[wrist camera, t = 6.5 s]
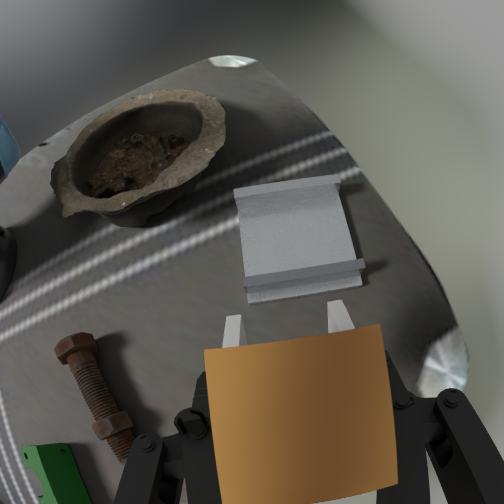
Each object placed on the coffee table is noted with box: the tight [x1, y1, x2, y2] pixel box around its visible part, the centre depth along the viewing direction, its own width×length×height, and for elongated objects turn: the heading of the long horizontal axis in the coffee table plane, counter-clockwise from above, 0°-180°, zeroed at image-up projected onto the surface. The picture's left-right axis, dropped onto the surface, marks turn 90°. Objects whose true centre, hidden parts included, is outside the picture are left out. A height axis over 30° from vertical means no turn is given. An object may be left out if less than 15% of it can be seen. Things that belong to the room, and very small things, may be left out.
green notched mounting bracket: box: [21, 443, 92, 504], centre depth 23 cm, size 11×6×8 cm, turn 15°
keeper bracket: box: [233, 174, 366, 305], centre depth 33 cm, size 12×13×4 cm
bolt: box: [54, 332, 135, 466], centre depth 27 cm, size 6×5×15 cm
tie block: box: [204, 324, 398, 504], centre depth 12 cm, size 4×4×12 cm
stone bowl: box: [50, 89, 226, 228], centre depth 38 cm, size 25×25×9 cm
